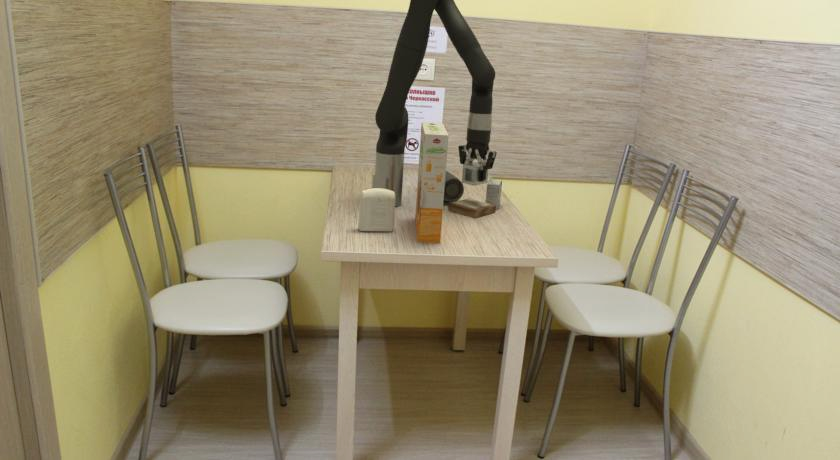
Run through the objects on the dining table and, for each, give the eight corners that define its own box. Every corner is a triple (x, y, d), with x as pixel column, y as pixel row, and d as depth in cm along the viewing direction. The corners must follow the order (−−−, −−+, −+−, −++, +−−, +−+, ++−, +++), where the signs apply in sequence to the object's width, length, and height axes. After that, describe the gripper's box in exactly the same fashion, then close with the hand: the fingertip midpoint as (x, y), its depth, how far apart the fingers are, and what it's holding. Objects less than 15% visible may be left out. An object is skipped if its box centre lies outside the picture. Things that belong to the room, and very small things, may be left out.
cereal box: (415, 219, 208) (421, 121, 200) (435, 220, 209) (442, 123, 200) (417, 241, 187) (425, 134, 178) (440, 243, 187) (448, 135, 178)
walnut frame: (474, 218, 214) (475, 209, 213) (448, 210, 221) (448, 202, 220) (495, 212, 222) (495, 204, 221) (468, 205, 229) (469, 197, 228)
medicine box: (497, 210, 225) (500, 184, 223) (484, 208, 226) (487, 183, 224) (500, 204, 233) (502, 180, 230) (487, 203, 234) (489, 178, 231)
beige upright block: (392, 227, 198) (394, 186, 194) (395, 232, 194) (397, 190, 190) (357, 228, 195) (359, 186, 192) (359, 232, 191) (361, 190, 188)
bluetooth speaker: (464, 205, 229) (466, 176, 226) (438, 206, 226) (441, 176, 223) (439, 189, 249) (441, 162, 246) (416, 189, 246) (417, 162, 243)
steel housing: (474, 185, 214) (475, 167, 212) (461, 182, 217) (463, 164, 216) (487, 182, 219) (488, 164, 218) (474, 180, 222) (476, 162, 221)
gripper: (454, 124, 215) (450, 177, 220) (490, 131, 206) (485, 185, 211) (468, 123, 220) (464, 174, 225) (504, 129, 211) (499, 182, 216)
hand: (474, 179), depth 218 cm, fingers closed on steel housing, 5 cm apart
